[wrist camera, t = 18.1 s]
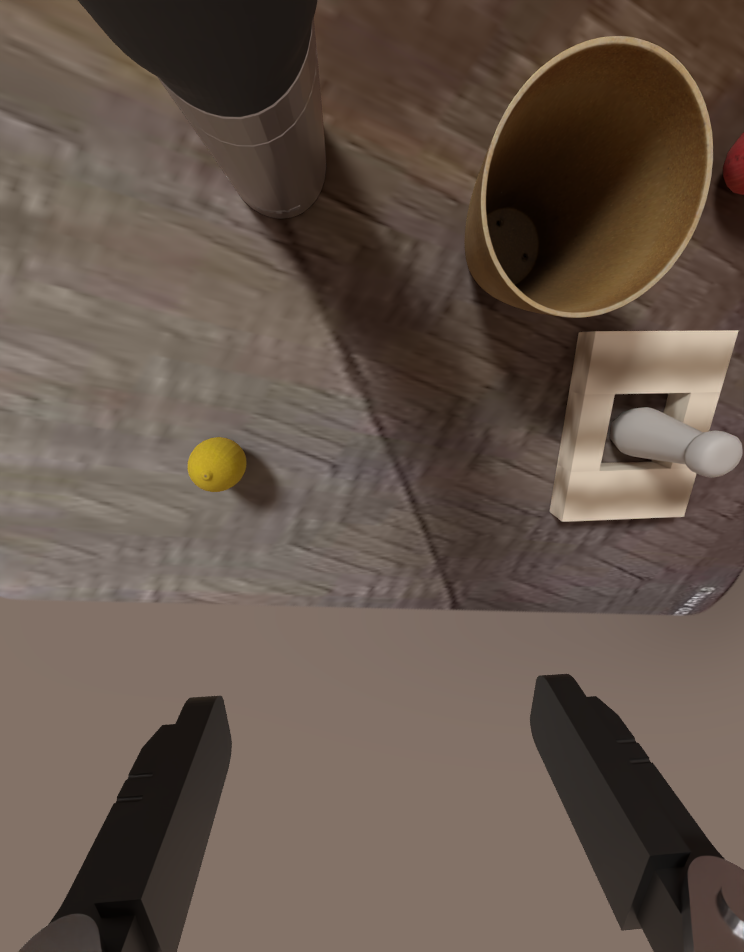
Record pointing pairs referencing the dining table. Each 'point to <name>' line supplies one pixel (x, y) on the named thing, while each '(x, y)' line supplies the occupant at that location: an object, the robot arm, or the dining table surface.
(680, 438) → the salt shaker
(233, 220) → the dining table surface
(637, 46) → the plant pot
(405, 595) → the dining table surface
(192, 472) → the lemon
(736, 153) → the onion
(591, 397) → the hole board
